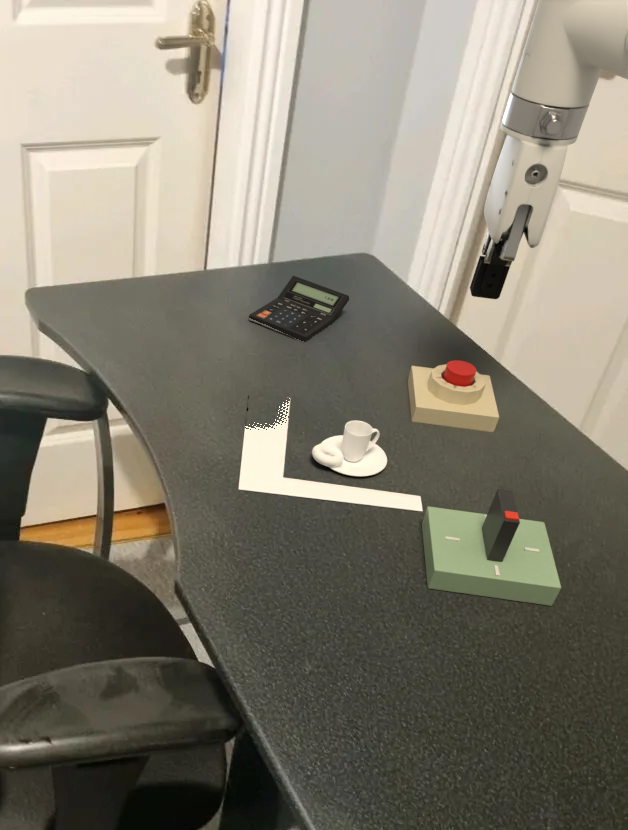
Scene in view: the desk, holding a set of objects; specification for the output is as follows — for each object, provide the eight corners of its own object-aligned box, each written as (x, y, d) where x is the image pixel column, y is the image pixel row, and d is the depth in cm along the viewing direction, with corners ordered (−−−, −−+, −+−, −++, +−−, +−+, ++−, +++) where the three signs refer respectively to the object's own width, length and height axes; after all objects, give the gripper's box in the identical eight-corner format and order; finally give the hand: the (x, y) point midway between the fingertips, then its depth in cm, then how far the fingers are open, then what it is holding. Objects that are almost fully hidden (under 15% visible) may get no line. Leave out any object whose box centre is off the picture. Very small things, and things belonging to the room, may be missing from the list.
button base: (484, 390, 111) (494, 362, 108) (493, 432, 104) (504, 404, 101) (407, 380, 111) (415, 352, 109) (411, 422, 104) (419, 393, 102)
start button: (470, 374, 106) (474, 362, 105) (473, 389, 104) (478, 376, 102) (441, 371, 106) (445, 358, 105) (443, 385, 104) (447, 373, 103)
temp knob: (481, 527, 86) (498, 486, 83) (496, 529, 86) (513, 488, 83) (487, 560, 83) (504, 518, 79) (502, 562, 83) (521, 520, 79)
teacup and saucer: (309, 474, 95) (316, 443, 92) (310, 434, 101) (316, 404, 98) (388, 483, 95) (397, 453, 92) (384, 443, 101) (392, 413, 98)
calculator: (248, 320, 121) (251, 300, 118) (291, 294, 127) (294, 274, 125) (304, 343, 117) (308, 322, 115) (346, 314, 124) (350, 294, 122)
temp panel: (535, 540, 89) (545, 520, 88) (552, 606, 82) (562, 586, 80) (421, 524, 90) (428, 504, 88) (427, 588, 83) (435, 568, 81)
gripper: (596, 146, 79) (526, 329, 92) (567, 101, 90) (508, 271, 103) (515, 136, 79) (456, 320, 92) (495, 92, 90) (445, 263, 103)
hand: (483, 294), depth 97 cm, fingers closed
